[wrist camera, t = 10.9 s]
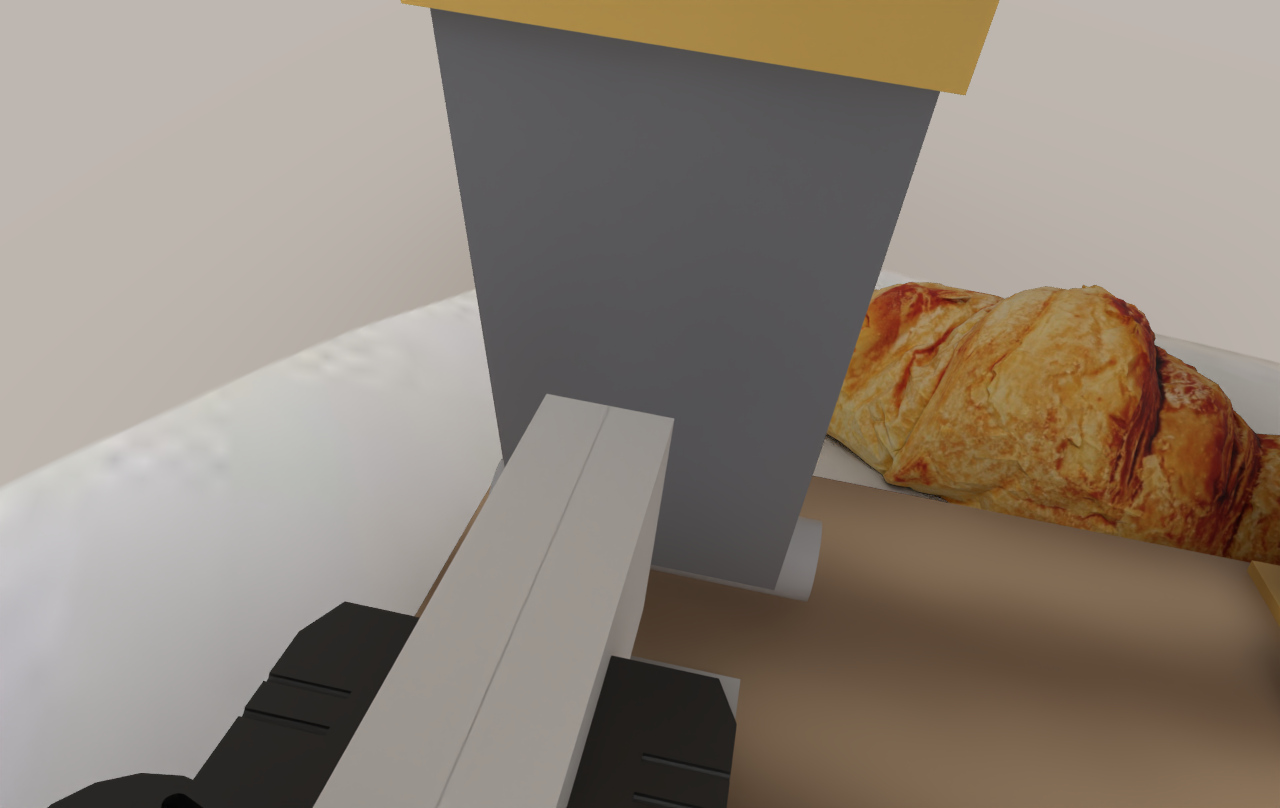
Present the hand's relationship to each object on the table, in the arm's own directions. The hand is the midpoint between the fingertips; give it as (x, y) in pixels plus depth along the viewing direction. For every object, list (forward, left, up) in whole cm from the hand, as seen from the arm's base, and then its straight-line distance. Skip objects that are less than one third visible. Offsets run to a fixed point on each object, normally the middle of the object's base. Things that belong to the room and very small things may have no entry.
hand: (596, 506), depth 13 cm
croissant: (-24, +2, -10) cm, 26 cm away
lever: (-7, -2, -5) cm, 9 cm away
